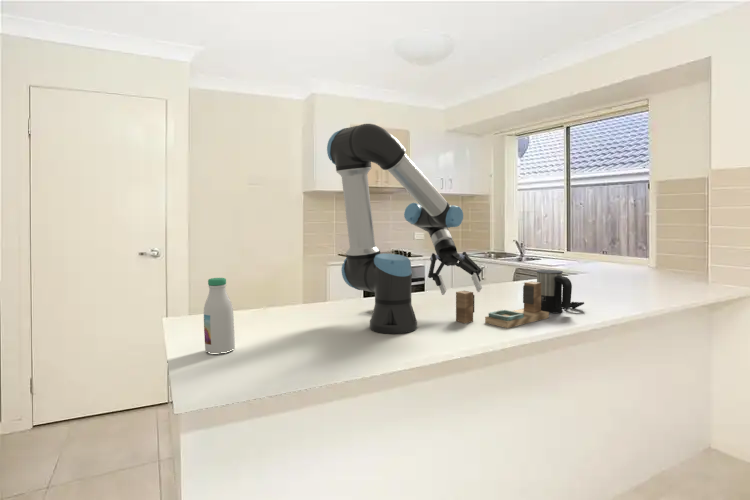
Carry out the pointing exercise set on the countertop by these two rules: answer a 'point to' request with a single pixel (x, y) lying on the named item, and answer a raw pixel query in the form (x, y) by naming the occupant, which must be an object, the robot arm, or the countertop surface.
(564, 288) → the milk frother
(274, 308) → the countertop surface
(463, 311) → the brown wooden block
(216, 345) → the milk bottle
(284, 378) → the countertop surface
